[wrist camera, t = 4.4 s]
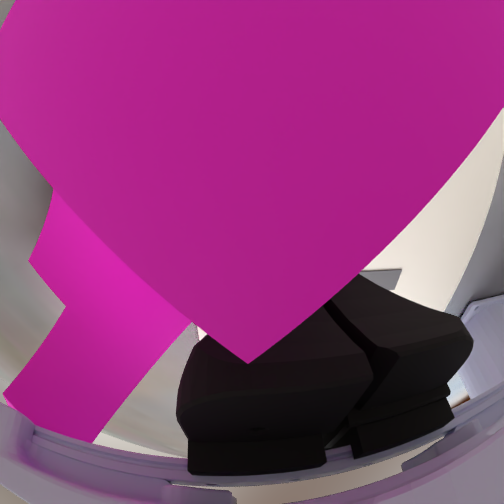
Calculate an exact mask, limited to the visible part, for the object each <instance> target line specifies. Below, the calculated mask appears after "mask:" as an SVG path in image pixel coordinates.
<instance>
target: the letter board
mask: <svg viewBox="0 0 504 504" xmlns="http://www.w3.org/2000/svg"><path fill="white" fill-rule="evenodd" d="M503 154H504V108H502V110H501V111H500V113H499V114H498V116H497V117H496V119H495V120H494V122H493V123H492V125H491V126H490V127H489V129H488V130H487V132H486V133H485V134H484V136H483V137H482V138H481V140H480V141H479V142H478V144H477V145H476V146H475V148H474V149H473V150H472V152H471V153H470V154H469V155H468V157H467V158H466V159H465V161H464V162H463V163H462V164H461V165H460V167H459V168H458V169H457V170H456V172H455V173H454V174H453V175H452V176H451V178H450V179H449V180H448V181H447V182H446V184H445V185H444V186H443V187H442V188H441V189H440V190H439V192H438V193H437V194H436V195H435V196H434V197H433V198H432V200H431V201H430V202H429V203H428V204H427V205H426V206H425V207H424V208H423V209H422V211H421V212H420V213H419V214H418V215H417V216H416V217H415V218H414V219H413V220H412V221H411V222H410V223H409V224H408V225H407V226H406V228H405V229H404V230H403V231H402V232H401V233H400V234H399V235H398V236H397V237H396V238H395V239H394V240H393V241H392V242H391V243H390V244H389V245H388V246H387V247H386V248H385V249H384V250H383V251H382V252H381V253H380V254H379V255H378V256H377V257H375V258H374V259H373V260H372V261H371V262H370V263H369V264H368V265H367V266H366V267H365V268H364V269H363V270H362V271H361V272H360V273H359V274H360V275H362V276H363V277H365V278H367V279H368V280H370V281H372V282H374V283H375V284H377V285H379V286H381V287H383V288H385V289H387V290H389V291H391V292H393V293H395V294H397V295H399V296H401V297H404V298H406V299H408V300H411V301H413V302H416V303H418V304H421V305H423V306H426V307H429V308H432V309H435V310H438V311H441V312H444V311H445V309H446V307H447V305H448V303H449V302H450V300H451V298H452V296H453V294H454V292H455V290H456V288H457V286H458V284H459V282H460V280H461V278H462V276H463V274H464V272H465V270H466V268H467V265H468V263H469V261H470V259H471V256H472V254H473V252H474V249H475V247H476V244H477V242H478V239H479V237H480V234H481V231H482V229H483V226H484V223H485V220H486V217H487V214H488V211H489V208H490V205H491V202H492V198H493V195H494V191H495V188H496V184H497V180H498V176H499V172H500V168H501V163H502V159H503ZM197 329H198V335H199V341H200V340H201V339H202V338H203V337H204V336H205V335H207V333H206V332H204V331H203V330H202V329H200V328H199V327H198V326H197Z"/></svg>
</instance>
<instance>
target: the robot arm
mask: <svg viewBox="0 0 504 504" xmlns="http://www.w3.org/2000/svg"><path fill="white" fill-rule="evenodd" d="M456 372H458V374H459V376H460V378H461V380H462V382H463V384H464V386H465V388H466V390H467V392H468V394H469V396H470V398H471V400H469V401H467V402H465V403H463V404H461V405H459V406H457V407H455V408H453V409H451V407H450V405H449V403H448V401H447V398H446V397H448V396H449V395H450V392H451V391H450V389H449V387H448V385H447V382H448V381H449V380H450V379H451V378H452V377H453V376H454V375H455V373H456ZM176 417H177V421H178V423H179V425H180V426H181V428H182V430H183V432H184V433H185V435H186V437H187V438H188V459H185V458H173V457H163V456H155V455H147V454H140V453H135V452H128V451H123V450H118V449H113V448H109V447H105V446H100V445H96V444H92V443H88V442H85V441H81V440H78V439H74V438H71V437H68V436H65V435H62V434H59V433H56V432H53V431H50V430H47V429H45V428H42V427H39V426H37V425H34V423H33V422H32V421H31V420H30V419H29V418H27V417H26V416H25V415H23V414H22V413H20V412H19V411H17V410H15V409H13V408H11V407H9V406H7V405H5V404H3V403H1V402H0V484H1V485H2V486H4V487H5V488H7V489H8V490H9V491H11V492H12V493H14V494H15V495H16V496H18V497H20V498H21V499H22V500H24V501H25V502H27V503H28V504H237V503H236V502H237V501H236V498H235V497H233V496H232V493H231V492H230V491H228V490H215V489H204V488H195V487H187V486H177V485H172V484H179V485H192V486H212V487H235V486H237V487H238V486H257V485H258V486H259V485H272V484H281V483H289V482H297V481H303V480H309V479H315V478H320V477H325V476H330V475H335V474H339V473H343V472H347V471H351V470H355V469H359V468H362V467H366V466H369V465H372V464H375V463H379V462H382V461H385V460H387V459H390V458H393V457H396V456H399V455H401V454H403V453H406V452H409V451H411V450H414V449H416V448H419V447H421V446H423V445H425V444H428V443H430V442H432V441H434V440H436V439H439V438H440V437H442V436H444V438H443V439H441V440H440V441H438V442H436V443H434V444H433V445H432V446H430V447H429V448H428V449H427V450H425V451H423V452H422V453H420V454H418V455H417V456H415V457H413V458H411V459H409V460H408V461H406V462H404V463H402V465H401V467H402V470H403V472H401V473H399V474H396V475H393V476H391V477H388V478H385V479H383V480H380V481H377V482H374V483H371V484H368V485H365V486H362V487H358V488H355V489H352V490H348V491H344V492H341V493H337V494H333V495H328V496H324V497H319V498H314V499H309V500H304V501H298V502H291V503H284V504H504V295H500V296H496V297H492V298H487V299H483V300H479V301H474V302H472V303H470V304H469V306H468V307H467V309H466V311H465V312H464V314H463V316H462V317H461V319H460V318H459V317H457V316H454V315H451V314H448V313H444V312H441V311H438V310H435V309H432V308H429V307H426V306H423V305H421V304H418V303H416V302H413V301H411V300H408V299H406V298H404V297H401V296H399V295H397V294H395V293H393V292H391V291H389V290H387V289H385V288H383V287H381V286H379V285H377V284H375V283H374V282H372V281H370V280H368V279H367V278H365V277H363V276H362V275H360V274H359V273H358V274H357V275H356V276H355V277H354V278H353V279H352V280H351V281H350V282H349V283H348V284H346V285H345V286H344V287H343V288H342V289H341V290H340V291H339V292H337V293H336V294H335V295H334V296H333V297H332V298H331V299H329V300H328V301H327V302H326V303H325V304H324V305H322V306H321V307H320V308H319V309H318V310H317V311H315V312H314V313H313V314H312V315H311V316H309V317H308V318H307V319H306V320H304V321H303V322H302V323H301V324H300V325H298V326H297V327H296V328H295V329H293V330H292V331H291V332H290V333H288V334H287V335H286V336H284V337H283V338H282V339H281V340H279V341H278V342H277V343H275V344H274V345H273V346H272V347H270V348H269V349H268V350H266V351H265V352H264V353H262V354H261V355H260V356H258V357H257V358H256V359H254V360H253V361H251V362H250V363H249V364H247V363H246V362H244V361H243V360H242V359H240V358H239V357H237V356H236V355H235V354H233V353H232V352H231V351H229V350H228V349H227V348H225V347H224V346H223V345H221V344H220V343H219V342H217V341H216V340H215V339H213V338H212V337H211V336H209V335H208V334H207V335H205V336H204V337H203V338H202V339H201V340H200V341H199V342H198V343H197V344H196V345H195V346H194V347H193V349H192V352H191V354H190V356H189V359H188V361H187V363H186V366H185V369H184V371H183V374H182V377H181V381H180V385H179V389H178V395H177V407H176Z"/></svg>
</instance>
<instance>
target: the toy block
mask: <svg viewBox="0 0 504 504" xmlns="http://www.w3.org/2000/svg"><path fill="white" fill-rule="evenodd" d="M503 107H504V0H16V1H15V3H14V4H13V6H12V8H11V10H10V12H9V13H8V15H7V17H6V19H5V21H4V23H3V25H2V27H1V29H0V119H1V121H2V122H3V124H4V125H5V127H6V128H7V130H8V131H9V132H10V134H11V135H12V137H13V138H14V139H15V141H16V142H17V144H18V145H19V146H20V148H21V149H22V150H23V152H24V153H25V154H26V156H27V157H28V158H29V159H30V161H31V162H32V163H33V164H34V166H35V167H36V168H37V169H38V171H39V172H40V173H41V174H42V176H43V177H44V178H45V179H46V180H47V182H48V183H49V184H50V185H51V186H52V188H53V193H52V199H51V203H50V206H49V210H48V214H47V217H46V220H45V223H44V226H43V229H42V231H41V234H40V236H39V239H38V241H37V243H36V246H35V248H34V250H33V252H32V254H31V256H30V258H29V260H28V261H29V262H30V264H31V265H32V266H33V268H34V269H35V270H36V272H37V273H38V274H39V275H40V277H41V278H42V279H43V280H44V282H45V283H46V284H47V285H48V286H49V288H50V289H51V290H52V291H53V292H54V293H55V295H56V296H57V297H58V298H59V299H60V300H61V301H62V302H63V304H64V305H65V306H66V307H65V309H64V311H63V312H62V314H61V316H60V317H59V319H58V320H57V322H56V324H55V325H54V327H53V328H52V330H51V331H50V333H49V334H48V336H47V337H46V339H45V340H44V342H43V343H42V344H41V346H40V347H39V349H38V350H37V351H36V353H35V354H34V355H33V357H32V358H31V359H30V361H29V362H28V363H27V365H26V366H25V367H24V368H23V370H22V371H21V372H20V373H19V375H18V376H17V377H16V378H15V380H14V381H13V382H12V383H11V384H10V386H9V387H8V388H7V389H6V390H5V391H4V392H3V396H4V398H5V400H6V402H7V404H8V406H9V407H11V408H13V409H15V410H17V411H19V412H20V413H22V414H23V415H25V416H26V417H27V418H29V419H30V420H31V421H32V422H33V423H34V425H37V426H39V427H42V428H45V429H47V430H50V431H53V432H56V433H59V434H62V435H65V436H68V437H71V438H74V439H78V440H81V441H85V442H88V443H92V442H93V441H94V440H95V438H96V437H97V436H98V434H99V433H100V432H101V430H102V429H103V428H104V426H105V425H106V424H107V423H108V421H109V420H110V419H111V417H112V416H113V415H114V413H115V412H116V411H117V410H118V408H119V407H120V406H121V404H122V403H123V402H124V401H125V399H126V398H127V397H128V396H129V394H130V393H131V392H132V391H133V389H134V388H135V387H136V386H137V384H138V383H139V382H140V381H141V380H142V378H143V377H144V376H145V375H146V373H147V372H148V371H149V370H150V369H151V367H152V366H153V365H154V364H155V363H156V362H157V360H158V359H159V358H160V357H161V356H162V355H163V353H164V352H165V351H166V350H167V349H168V348H169V346H170V345H171V344H172V343H173V342H174V341H175V340H176V339H177V337H178V336H179V335H180V334H181V333H182V332H183V331H184V330H185V329H186V328H187V326H188V325H189V324H190V323H191V322H193V323H194V324H195V325H197V326H198V327H199V328H200V329H202V330H203V331H204V332H206V333H207V334H208V335H209V336H211V337H212V338H213V339H215V340H216V341H217V342H219V343H220V344H221V345H223V346H224V347H225V348H227V349H228V350H229V351H231V352H232V353H233V354H235V355H236V356H237V357H239V358H240V359H242V360H243V361H244V362H246V363H247V364H249V363H250V362H251V361H253V360H254V359H256V358H257V357H258V356H260V355H261V354H262V353H264V352H265V351H266V350H268V349H269V348H270V347H272V346H273V345H274V344H275V343H277V342H278V341H279V340H281V339H282V338H283V337H284V336H286V335H287V334H288V333H290V332H291V331H292V330H293V329H295V328H296V327H297V326H298V325H300V324H301V323H302V322H303V321H304V320H306V319H307V318H308V317H309V316H311V315H312V314H313V313H314V312H315V311H317V310H318V309H319V308H320V307H321V306H322V305H324V304H325V303H326V302H327V301H328V300H329V299H331V298H332V297H333V296H334V295H335V294H336V293H337V292H339V291H340V290H341V289H342V288H343V287H344V286H345V285H346V284H348V283H349V282H350V281H351V280H352V279H353V278H354V277H355V276H356V275H357V274H358V273H360V272H361V271H362V270H363V269H364V268H365V267H366V266H367V265H368V264H369V263H370V262H371V261H372V260H373V259H374V258H375V257H377V256H378V255H379V254H380V253H381V252H382V251H383V250H384V249H385V248H386V247H387V246H388V245H389V244H390V243H391V242H392V241H393V240H394V239H395V238H396V237H397V236H398V235H399V234H400V233H401V232H402V231H403V230H404V229H405V228H406V226H407V225H408V224H409V223H410V222H411V221H412V220H413V219H414V218H415V217H416V216H417V215H418V214H419V213H420V212H421V211H422V209H423V208H424V207H425V206H426V205H427V204H428V203H429V202H430V201H431V200H432V198H433V197H434V196H435V195H436V194H437V193H438V192H439V190H440V189H441V188H442V187H443V186H444V185H445V184H446V182H447V181H448V180H449V179H450V178H451V176H452V175H453V174H454V173H455V172H456V170H457V169H458V168H459V167H460V165H461V164H462V163H463V162H464V161H465V159H466V158H467V157H468V155H469V154H470V153H471V152H472V150H473V149H474V148H475V146H476V145H477V144H478V142H479V141H480V140H481V138H482V137H483V136H484V134H485V133H486V132H487V130H488V129H489V127H490V126H491V125H492V123H493V122H494V120H495V119H496V117H497V116H498V114H499V113H500V111H501V110H502V108H503Z"/></svg>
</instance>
